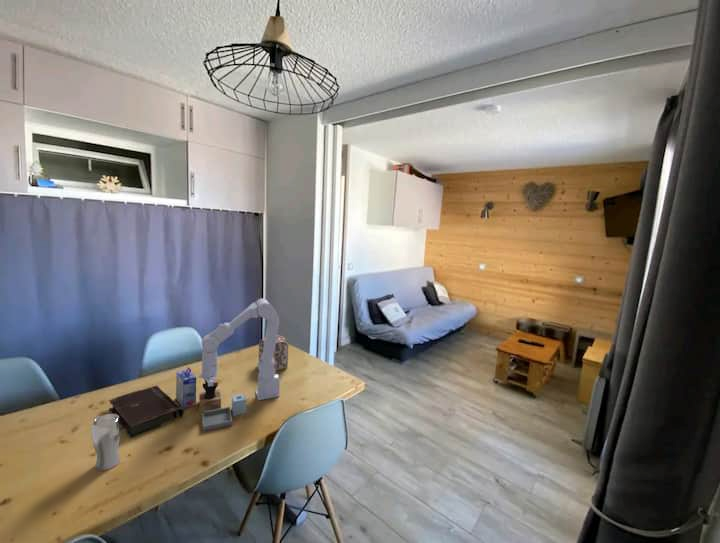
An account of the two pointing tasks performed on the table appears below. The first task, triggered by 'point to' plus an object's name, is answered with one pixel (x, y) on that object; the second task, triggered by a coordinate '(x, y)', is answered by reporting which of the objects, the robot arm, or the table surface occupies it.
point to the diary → (144, 410)
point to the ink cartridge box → (186, 388)
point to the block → (238, 404)
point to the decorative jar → (277, 352)
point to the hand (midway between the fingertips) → (210, 394)
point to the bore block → (209, 401)
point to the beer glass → (106, 441)
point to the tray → (216, 419)
